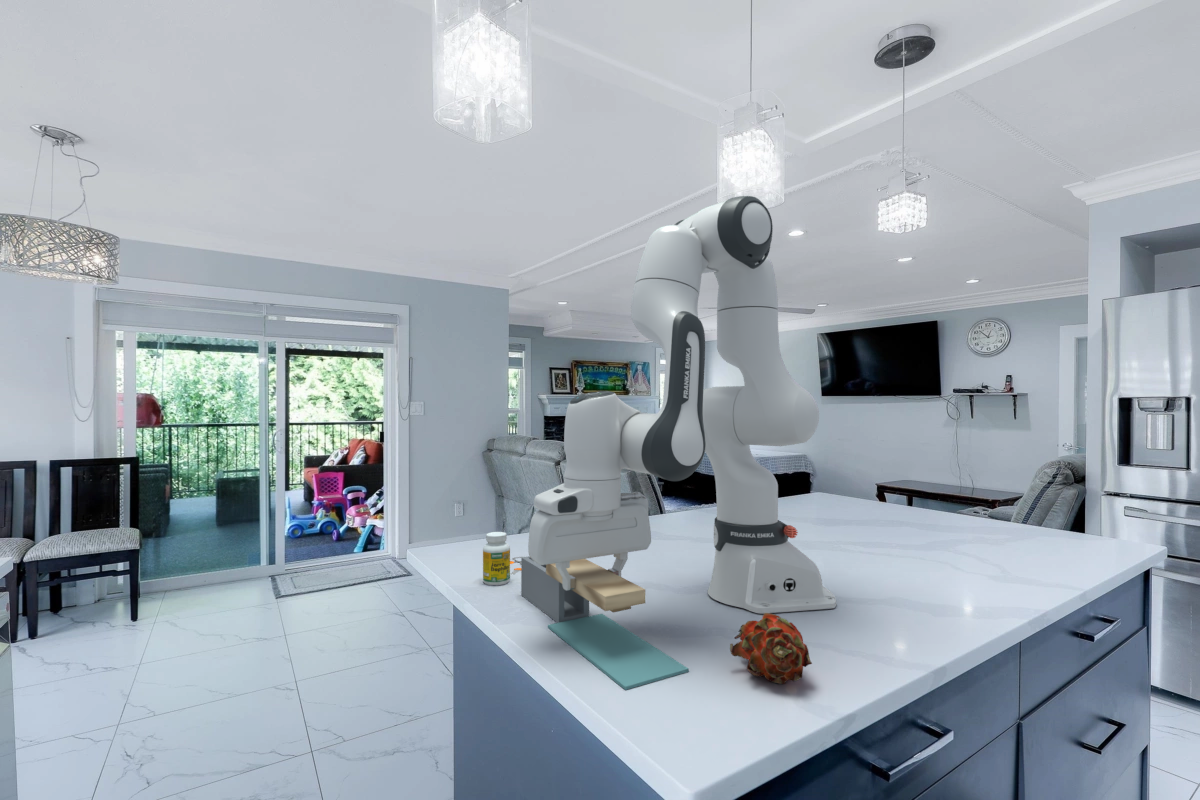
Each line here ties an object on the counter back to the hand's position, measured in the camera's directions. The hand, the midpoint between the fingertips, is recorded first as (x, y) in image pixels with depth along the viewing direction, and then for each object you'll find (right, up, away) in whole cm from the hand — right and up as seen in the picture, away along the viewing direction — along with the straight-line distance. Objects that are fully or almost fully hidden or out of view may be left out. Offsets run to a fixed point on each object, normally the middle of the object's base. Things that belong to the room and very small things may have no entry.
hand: (592, 584), depth 89 cm
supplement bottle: (-19, -8, +26) cm, 33 cm away
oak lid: (0, -1, 0) cm, 1 cm away
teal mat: (+3, -7, -5) cm, 10 cm away
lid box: (-7, -8, +12) cm, 16 cm away
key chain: (-16, -8, +38) cm, 42 cm away
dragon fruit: (+23, -8, -14) cm, 28 cm away
